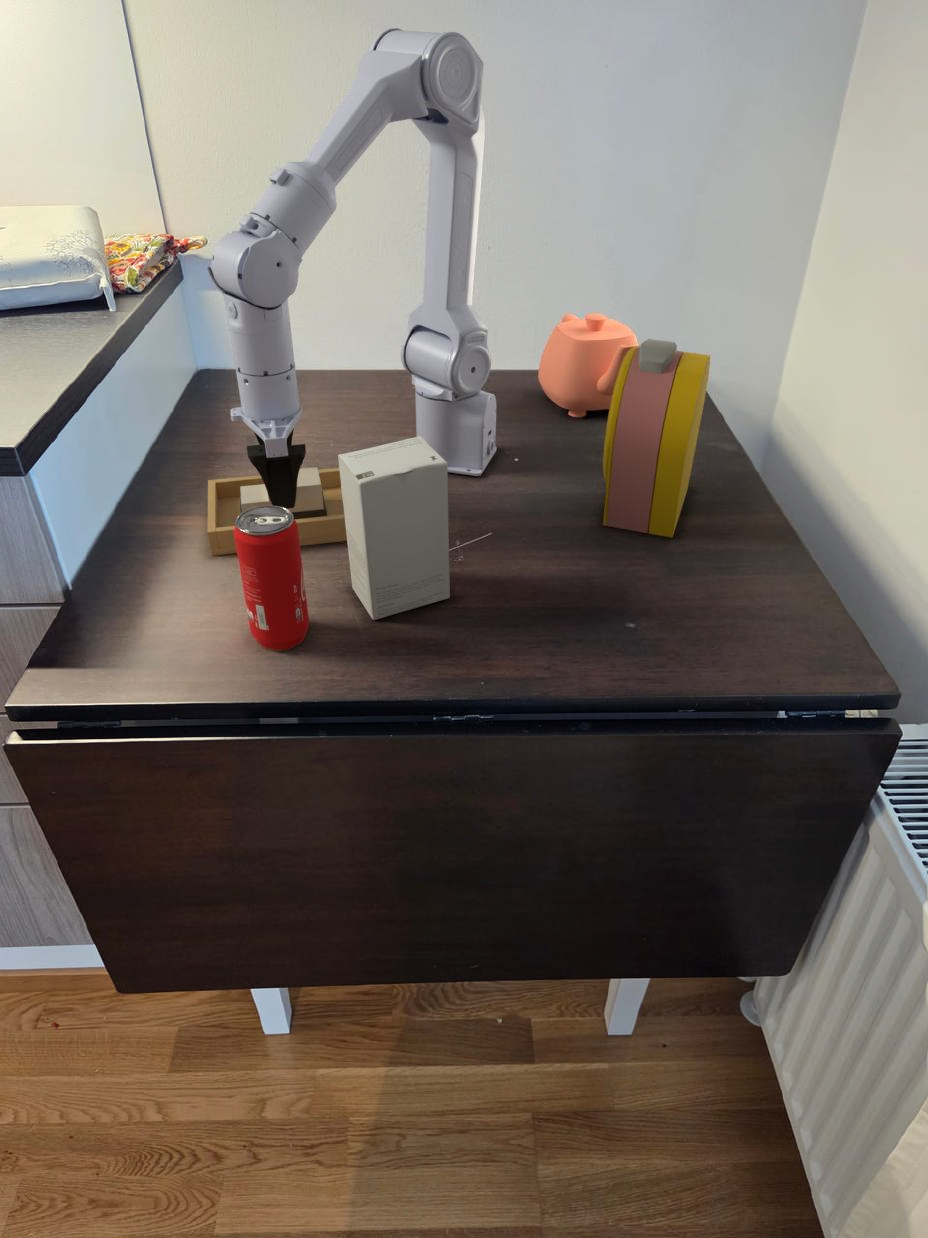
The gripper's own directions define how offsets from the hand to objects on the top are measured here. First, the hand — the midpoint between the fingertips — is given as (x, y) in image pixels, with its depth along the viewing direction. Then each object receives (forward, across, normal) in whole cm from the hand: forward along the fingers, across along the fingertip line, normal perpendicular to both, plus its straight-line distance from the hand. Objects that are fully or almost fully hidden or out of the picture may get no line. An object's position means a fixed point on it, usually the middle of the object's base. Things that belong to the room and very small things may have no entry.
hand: (281, 490), depth 93 cm
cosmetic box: (+4, +17, +10) cm, 20 cm away
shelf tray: (+4, 0, 0) cm, 4 cm away
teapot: (+4, -23, +44) cm, 50 cm away
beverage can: (+4, +21, -2) cm, 21 cm away
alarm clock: (+4, +6, +40) cm, 40 cm away
